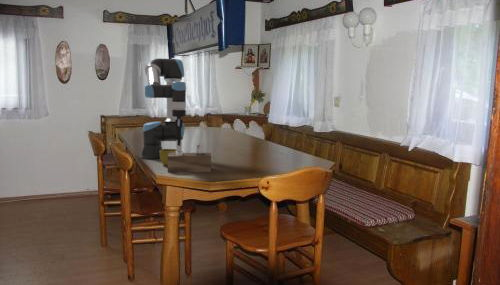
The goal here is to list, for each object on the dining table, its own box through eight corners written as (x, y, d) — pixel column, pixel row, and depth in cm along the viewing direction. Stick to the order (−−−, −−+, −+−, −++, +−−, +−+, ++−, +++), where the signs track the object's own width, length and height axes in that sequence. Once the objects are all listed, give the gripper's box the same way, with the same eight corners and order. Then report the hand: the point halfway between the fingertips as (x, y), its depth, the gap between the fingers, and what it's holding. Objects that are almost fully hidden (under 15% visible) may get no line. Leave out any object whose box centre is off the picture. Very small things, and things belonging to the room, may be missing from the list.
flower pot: (158, 165, 249) (158, 150, 248) (163, 162, 258) (163, 148, 256) (173, 166, 248) (173, 151, 247) (177, 163, 256) (177, 149, 255)
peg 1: (175, 166, 239) (175, 150, 238) (182, 166, 240) (182, 150, 239) (175, 167, 235) (175, 151, 234) (182, 167, 236) (182, 152, 235)
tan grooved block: (169, 167, 243) (169, 152, 242) (210, 167, 246) (210, 152, 245) (167, 172, 231) (167, 156, 230) (211, 172, 234) (211, 156, 233)
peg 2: (196, 159, 240) (196, 143, 239) (203, 159, 241) (203, 143, 240) (196, 160, 236) (196, 144, 235) (203, 160, 237) (203, 144, 236)
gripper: (172, 108, 239) (172, 149, 242) (171, 110, 226) (171, 152, 229) (186, 108, 240) (186, 149, 243) (185, 110, 227) (185, 152, 230)
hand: (179, 150), depth 236 cm, fingers closed
